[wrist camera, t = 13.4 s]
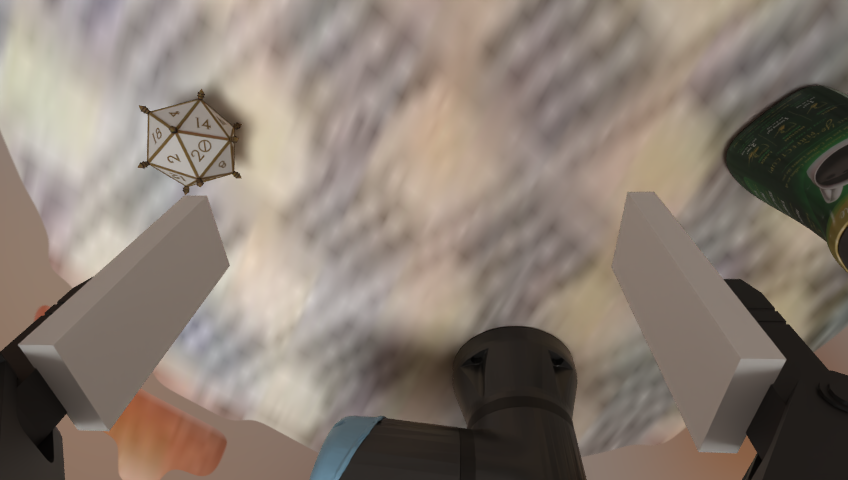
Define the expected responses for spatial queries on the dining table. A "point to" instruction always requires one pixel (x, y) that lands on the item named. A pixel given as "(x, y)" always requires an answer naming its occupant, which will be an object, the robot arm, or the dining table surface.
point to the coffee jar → (800, 162)
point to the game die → (190, 142)
